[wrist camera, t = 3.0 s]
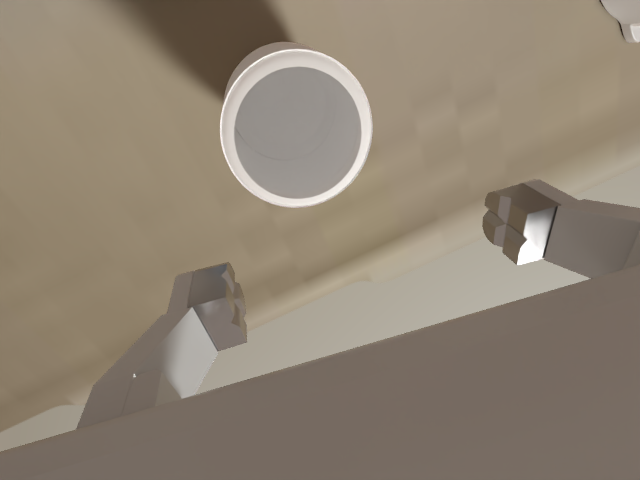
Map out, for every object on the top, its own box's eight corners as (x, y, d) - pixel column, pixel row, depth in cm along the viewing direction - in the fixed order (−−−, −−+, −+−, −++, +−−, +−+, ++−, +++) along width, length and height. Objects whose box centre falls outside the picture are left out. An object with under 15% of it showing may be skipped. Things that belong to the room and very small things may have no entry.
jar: (210, 49, 31) (192, 71, 19) (317, 24, 32) (365, 30, 20) (245, 156, 38) (248, 224, 25) (335, 133, 38) (380, 190, 26)
